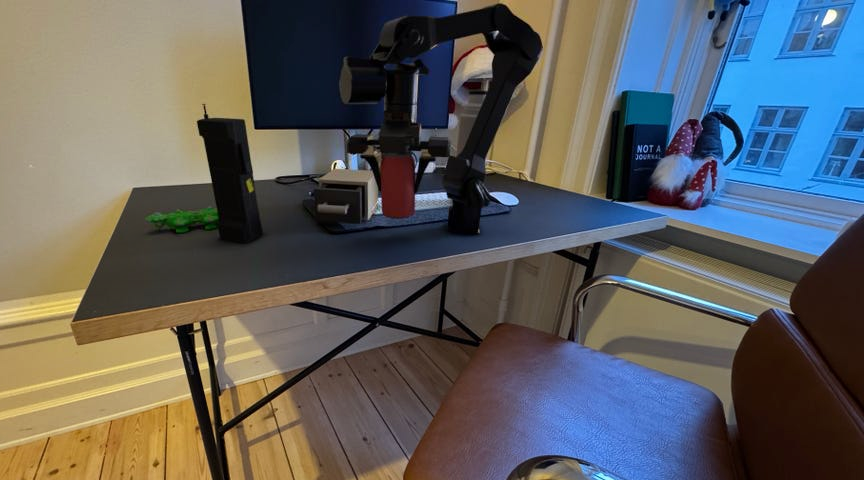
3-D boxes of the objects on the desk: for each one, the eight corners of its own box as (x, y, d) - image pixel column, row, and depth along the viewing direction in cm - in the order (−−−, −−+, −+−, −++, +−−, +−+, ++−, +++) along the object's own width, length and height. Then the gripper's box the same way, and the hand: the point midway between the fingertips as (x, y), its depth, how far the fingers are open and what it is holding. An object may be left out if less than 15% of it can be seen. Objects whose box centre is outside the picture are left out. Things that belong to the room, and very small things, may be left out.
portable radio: (269, 234, 77) (252, 104, 66) (251, 244, 72) (229, 105, 61) (238, 229, 79) (216, 103, 68) (218, 239, 74) (191, 104, 63)
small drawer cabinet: (368, 220, 86) (367, 182, 82) (320, 217, 88) (318, 179, 84) (378, 205, 97) (378, 171, 93) (336, 202, 99) (334, 168, 95)
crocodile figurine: (150, 227, 80) (145, 208, 78) (238, 217, 87) (235, 199, 85) (147, 238, 74) (141, 217, 72) (241, 226, 81) (238, 207, 79)
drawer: (355, 230, 78) (355, 196, 74) (308, 227, 79) (306, 193, 76) (371, 209, 92) (371, 179, 88) (330, 206, 93) (329, 177, 90)
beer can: (415, 219, 70) (416, 155, 65) (381, 220, 70) (379, 156, 65) (414, 209, 76) (414, 149, 71) (382, 210, 76) (380, 150, 71)
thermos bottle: (481, 207, 98) (498, 90, 85) (451, 205, 99) (463, 90, 86) (479, 199, 105) (494, 90, 92) (451, 197, 106) (462, 90, 93)
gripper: (335, 104, 58) (339, 200, 65) (454, 107, 56) (445, 206, 63) (353, 102, 68) (355, 185, 75) (454, 104, 65) (446, 190, 72)
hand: (397, 191), depth 71 cm, fingers closed on beer can, 6 cm apart
